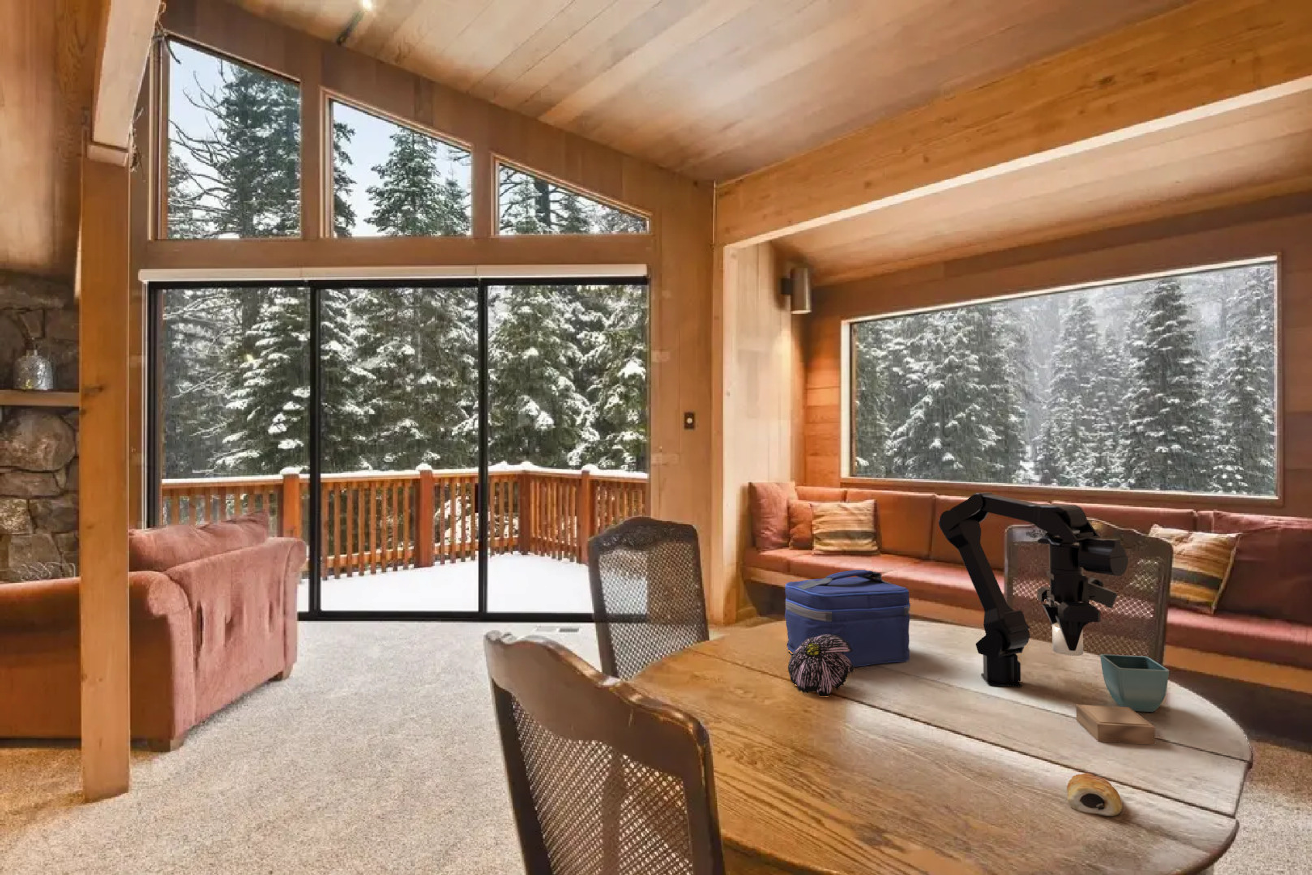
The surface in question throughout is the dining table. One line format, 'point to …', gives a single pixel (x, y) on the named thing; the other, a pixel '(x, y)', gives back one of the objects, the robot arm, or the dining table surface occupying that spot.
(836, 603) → the lunch bag
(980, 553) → the robot arm
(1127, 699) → the flower pot
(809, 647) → the decorative flower
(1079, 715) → the stand
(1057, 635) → the jar
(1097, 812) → the pastry
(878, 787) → the dining table surface
